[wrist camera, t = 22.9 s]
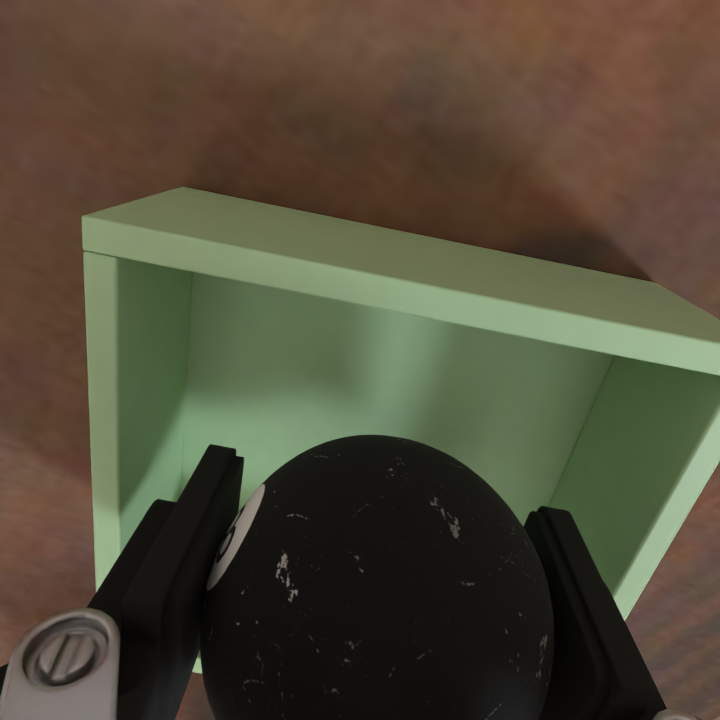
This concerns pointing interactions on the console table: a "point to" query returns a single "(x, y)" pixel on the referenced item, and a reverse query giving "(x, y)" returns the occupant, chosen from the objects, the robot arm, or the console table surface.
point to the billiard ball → (376, 594)
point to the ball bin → (390, 368)
